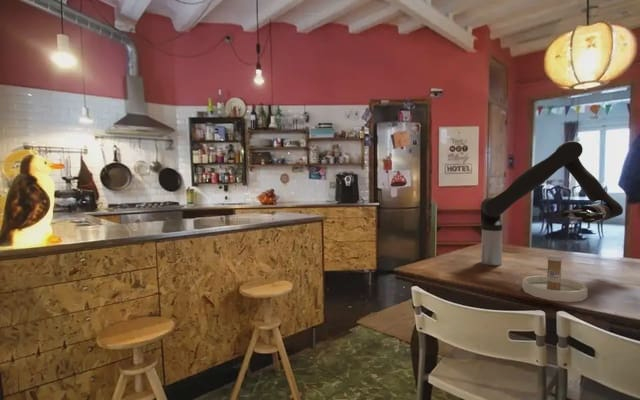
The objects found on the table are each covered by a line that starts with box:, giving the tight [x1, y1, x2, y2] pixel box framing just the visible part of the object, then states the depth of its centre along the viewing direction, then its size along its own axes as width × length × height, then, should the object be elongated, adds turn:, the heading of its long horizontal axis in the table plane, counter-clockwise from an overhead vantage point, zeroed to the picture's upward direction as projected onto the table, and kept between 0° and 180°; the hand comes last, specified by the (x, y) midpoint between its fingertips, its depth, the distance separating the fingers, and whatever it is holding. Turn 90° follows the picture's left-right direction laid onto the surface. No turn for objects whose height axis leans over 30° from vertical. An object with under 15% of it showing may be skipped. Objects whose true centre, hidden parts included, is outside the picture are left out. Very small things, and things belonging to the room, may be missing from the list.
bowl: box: [521, 275, 589, 303], centre depth 136 cm, size 20×20×4 cm
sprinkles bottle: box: [546, 253, 563, 291], centre depth 135 cm, size 5×5×13 cm
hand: (574, 216), depth 145 cm, fingers open, 8 cm apart
